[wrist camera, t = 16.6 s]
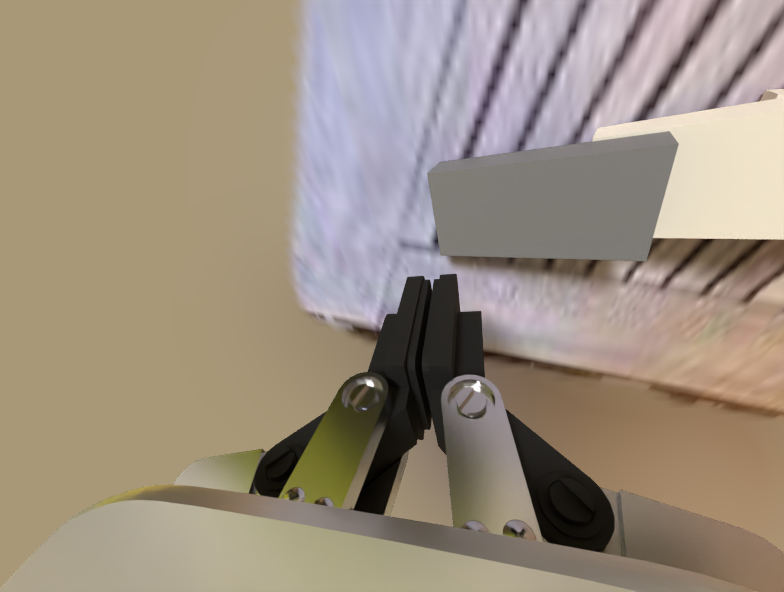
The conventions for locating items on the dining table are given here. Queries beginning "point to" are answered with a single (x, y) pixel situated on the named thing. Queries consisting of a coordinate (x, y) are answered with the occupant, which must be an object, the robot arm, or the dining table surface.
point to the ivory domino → (720, 171)
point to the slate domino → (555, 200)
